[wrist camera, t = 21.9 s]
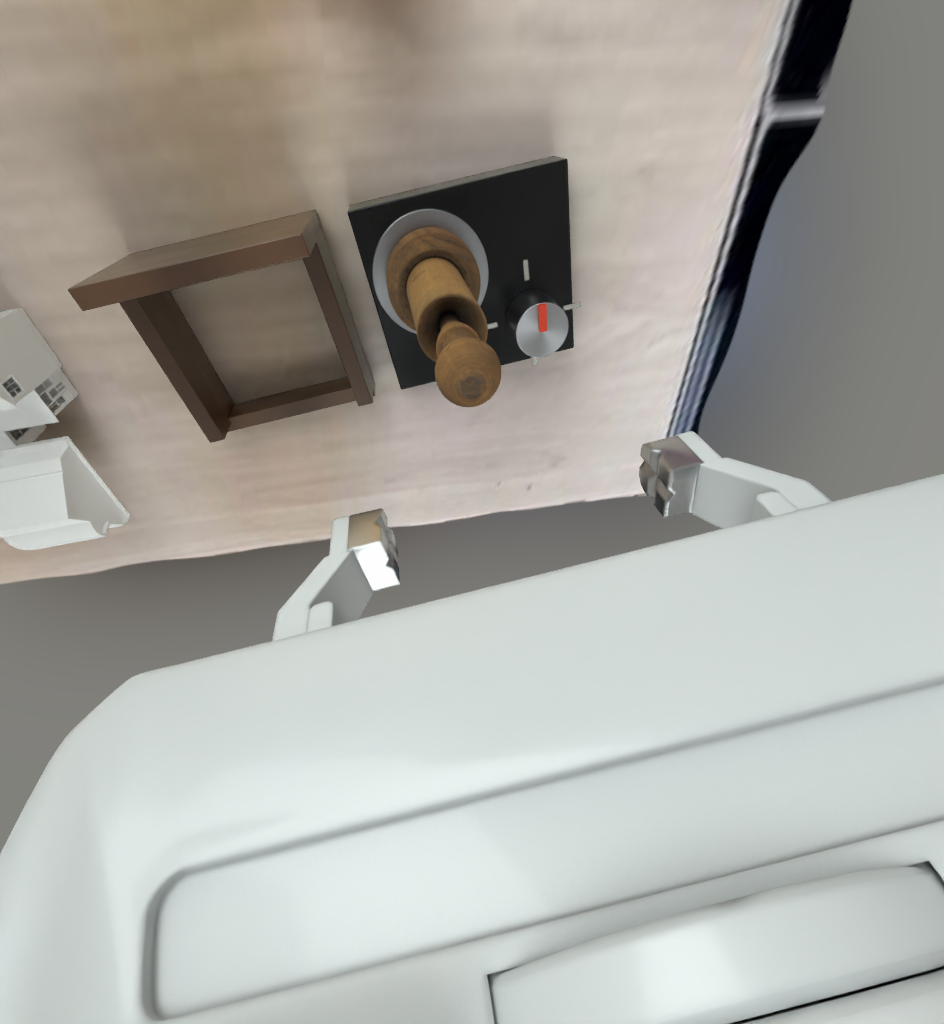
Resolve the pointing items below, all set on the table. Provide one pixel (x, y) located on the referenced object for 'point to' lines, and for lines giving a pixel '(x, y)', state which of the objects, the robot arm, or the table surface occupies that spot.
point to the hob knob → (536, 323)
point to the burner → (409, 224)
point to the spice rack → (210, 257)
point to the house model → (43, 450)
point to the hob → (507, 243)
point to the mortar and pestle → (445, 312)
